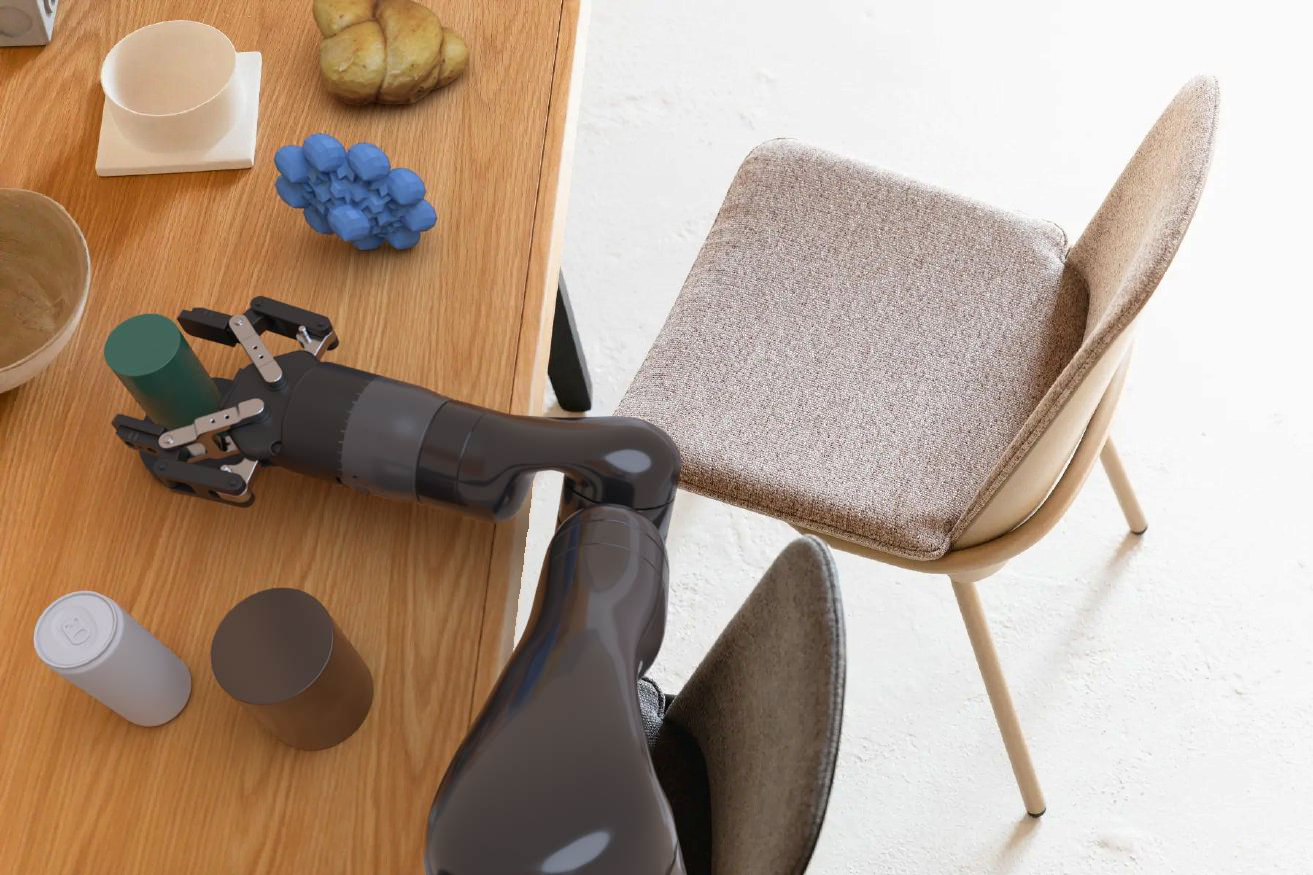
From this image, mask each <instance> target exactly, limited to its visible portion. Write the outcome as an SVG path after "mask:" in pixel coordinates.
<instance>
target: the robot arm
mask: <svg viewBox="0 0 1313 875" xmlns="http://www.w3.org/2000/svg"><path fill="white" fill-rule="evenodd" d="M249 306H250V307H249V308H248V309H247V310H246V311H244V313H241V314H239V313H238V314H235V315H231V314H227V313H224V312H221V311H217V310H213V309H208V308H205V307H192V309H191V310H188V309H181V311H180V312H179V314H178V315H177V317H176V321H177V323H178V324H179V326H180V327H181V328H182V331H183V332H185V333H186V334H187V335H189V336H191V337H194V338H197V339H202V340H205V341H209V342H212V343H215V344H220V345H223V346H226V347H227V346H228V347H231V348H233V349H234V348H236V346H237V345H240V346H241V347H242V349H243V351H244V352H245V354H246V355H247V358H249V360H250V361H251V363H249V364H247V365H246V366H245V367H244V368H242V367H239V368H238V370H237V372H236V373H235V375H234V377H233V379H232V380H233V384H232V387H231V389H230V390H229V391H228V392H227V393H226V394H225V395H224V396H223V398H222V399H221V401H220V403H219V404H218V406H217V407H218V409H219V410H220V411H219V412H216V413H212V414H209V415H206V416H202V417H199V418H197V419H195V420H194V423H193V424H191V425H188V426H185V427H182V428H178V429H175V430H172V431H168V430H167V429H166V427H165V426H161V425H158V424H154V423H151V422H147V421H143V420H144V419H141V418H140V419H139V418H137V417H133V416H129V415H126V414H122V413H116V414H115V415H114V417H113V419H112V421H111V422H110V425H111V426H112V427H113V428H114V429H115V435H117V437H118V438H119V439H120V440H121V442H122V443H123V444H124V445H125V446H126V447H128V448H129V449H131V450H135V451H138V452H139V451H142V452H145V453H148V454H152V455H155V456H159V460H157V461H156V462H155V464H154V466H153V470H154V472H155V473H156V474H157V476H158V477H160V478H161V479H162V480H163V482H164V483H165V485H164V486H166V488H167V489H168V490H169V491H170V492H172V493H177V494H181V495H184V496H190V497H193V498H199V499H201V500H202V499H203V500H206V501H212V502H216V503H219V504H224V505H229V506H234V507H238V508H242V509H247V508H249V507H251V506H253V504H254V503H255V501H256V495H255V493H254V492H253V488H254V486H255V484H256V482H257V480H258V478H259V475H260V473H261V472H262V469H268V468H282V469H285V470H287V471H290V472H293V473H295V474H299V475H302V476H307V477H310V478H313V479H317V480H320V481H323V482H326V483H330V484H334V485H337V486H341V487H344V488H348V489H352V490H354V491H356V492H357V493H360V494H363V495H366V496H376V497H379V498H383V499H387V500H391V501H398V502H406V503H412V504H416V505H417V504H418V505H422V506H425V507H429V508H433V509H436V510H440V511H443V512H446V513H449V514H450V513H451V514H453V515H456V516H460V517H464V518H468V519H470V520H471V519H472V520H474V521H478V522H482V523H487V524H494V525H495V524H504V523H507V522H509V521H510V520H512V519H513V518H514V517H515V516H516V515H517V514H518V512H519V511H520V510H521V509H522V507H523V505H524V503H525V501H526V499H527V497H528V495H529V493H530V491H531V488H532V485H533V483H534V480H535V478H536V476H537V474H538V473H539V472H547V471H553V472H558V473H561V474H563V476H562V485H561V491H560V498H559V504H558V510H557V514H556V522H555V527H554V534H553V535H552V537H551V540H550V542H549V543H548V546H547V548H546V551H545V555H544V558H543V561H542V565H541V569H540V574H539V576H538V577H539V578H538V581H537V585H536V589H535V593H534V597H533V601H532V605H531V609H530V613H529V616H528V620H527V622H526V625H525V627H524V630H523V632H522V635H521V637H520V639H519V641H518V642H517V644H516V646H515V648H514V650H513V651H512V653H511V655H510V657H509V658H508V660H507V662H506V664H505V665H504V666H503V669H502V670H501V673H500V674H499V676H498V678H497V679H496V681H495V683H494V684H493V687H492V688H491V690H490V692H489V694H488V696H487V697H486V699H485V701H484V702H483V705H482V707H481V708H480V710H479V712H478V714H477V715H476V717H475V719H474V720H473V722H472V723H471V725H470V727H469V729H468V730H467V732H466V733H465V735H464V737H463V738H462V740H461V741H460V744H459V745H458V747H457V749H456V750H455V752H454V754H453V756H452V758H451V760H450V762H449V764H448V766H447V768H446V770H445V772H444V774H443V776H442V778H441V779H440V782H439V783H438V784H439V785H438V786H437V789H436V790H435V793H434V796H433V798H432V801H431V804H430V806H429V808H428V812H427V816H426V819H425V823H424V827H423V834H422V854H423V865H424V873H425V875H688V873H687V869H686V865H685V861H684V857H683V852H682V848H681V844H680V839H679V835H678V831H677V825H676V821H675V816H674V812H673V808H672V806H671V803H670V801H669V798H668V797H667V794H666V792H665V790H664V788H663V786H662V784H661V782H660V779H659V778H658V775H657V772H656V769H655V765H654V762H653V759H652V755H651V752H650V747H649V743H648V738H647V737H648V736H647V733H646V729H645V728H646V727H645V723H644V719H643V718H644V717H643V712H642V708H641V701H640V696H639V681H641V679H642V678H644V677H645V676H646V674H648V672H649V671H650V669H651V668H652V666H653V665H654V663H655V662H656V660H657V658H658V656H659V653H660V651H661V649H662V646H663V642H664V639H665V635H666V629H667V620H668V612H669V594H670V560H669V555H668V550H667V546H666V544H667V540H668V535H669V528H670V524H671V521H672V520H671V519H672V515H673V510H674V507H675V506H674V505H675V500H676V497H677V496H676V494H677V491H678V487H679V482H680V477H681V470H682V456H681V451H680V449H679V446H678V445H677V443H676V442H675V441H674V439H672V437H671V436H670V435H669V434H667V433H666V432H665V431H664V430H663V429H662V428H661V427H659V426H657V425H655V424H654V423H652V422H650V421H647V420H645V419H641V418H638V417H634V416H633V417H631V416H619V415H618V416H617V415H608V416H607V415H605V416H603V415H602V416H601V415H600V416H579V417H577V416H576V417H575V416H568V417H565V416H564V417H563V416H561V417H560V416H538V415H522V414H514V413H508V412H503V411H499V410H496V409H493V408H490V407H489V408H488V407H486V406H485V407H484V406H481V405H477V404H474V403H470V402H467V401H462V400H458V399H454V398H451V397H449V396H445V395H443V394H440V393H438V392H437V391H434V390H431V389H429V388H426V387H424V386H421V385H417V384H414V383H410V382H408V381H407V382H406V381H404V380H399V379H395V378H391V377H388V376H385V375H381V374H378V373H373V372H370V371H365V370H362V369H358V368H355V367H351V366H347V365H344V364H340V363H336V362H332V361H322V358H323V357H324V355H325V353H326V352H327V351H328V352H329V351H330V352H331V351H334V350H336V349H337V348H338V347H339V345H340V340H339V338H338V335H337V333H336V331H335V328H334V326H333V325H332V322H331V320H330V318H329V317H328V316H326V315H323V314H320V313H317V312H314V311H310V310H309V309H304V308H301V307H299V306H295V305H292V304H289V303H286V302H282V301H280V300H277V299H273V298H270V297H267V296H264V295H257V296H255V297H253V298H252V299H251V301H250V303H249ZM266 331H267V332H270V333H273V334H276V335H279V336H282V337H285V338H288V339H292V340H294V341H297V342H298V344H299V346H300V347H301V349H298V350H294V351H289V352H285V353H283V354H280V355H279V354H278V355H276V356H273V355H272V354H271V352H270V351H269V349H268V348H267V346H266V344H265V343H264V342H263V340H262V338H261V336H262V335H263V334H264V333H265V332H266ZM223 431H226V432H227V433H228V435H229V436H226V437H220V436H218V435H217V434H216V433H219V432H223ZM237 453H241V455H242V456H243V458H244V460H243V461H242V462H241V463H239V464H237V465H222V466H221V468H220V469H221V470H218V469H214V468H210V467H205V466H201V465H196V464H192V463H193V462H197V461H200V460H203V459H206V458H212V459H221V458H224V457H228V456H231V455H234V454H237Z"/></svg>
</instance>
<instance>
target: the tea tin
mask: <svg viewBox="0 0 1313 875" xmlns="http://www.w3.org/2000/svg"><path fill="white" fill-rule="evenodd" d="M103 357H104V360H105V362H106V365H107V366H108V367H109V369H110V370H111V371H112V373H114V375H115V376H116V377H117V379H118V380H119V381H120V382H121V383H122V385H123V386H124V388H125V389H126V390H127V391H128V393H129V394H130V395H131V396H132V398H133V399H134V401H136V403H137V404H138V406H139V407H140V409H142V410H143V412H144V413H145V414H146V415H148V417H149V418H150V419H151V421H152V422H153V423H154V424H158V425H161V426H165V427H166V429H167V430H168V431H172V430H175V429H178V428H182V427H185V426H188V425H191V424H193V423H194V420H195V419H197V418H199V417H202V416H206V415H209V414H212V413H216V412H219V411H220V410H219V409H218V407H217V406H218V404H219V403H220V401H221V399H222V398H223V395H222V394H221V392H220V391H219V389H218V388H217V386H216V385H215V383H214V382H213V380H212V379H211V378H212V377H211V375H210V374H209V373H208V371H207V370H206V368H205V367H204V364H202V362H201V360H200V359H199V357H198V356H197V354H196V353H195V351H194V350H193V348H192V347H191V345H190V344H189V342H188V341H187V339H186V338H185V336H184V334H183V333H182V331H181V330H180V328H179V327H178V325H177V323H175V321H173V320H172V319H171V318H169V317H167V316H165V315H162V314H158V313H144V314H143V313H142V314H137V315H135V316H132V317H129V318H127V319H125V320H124V321H121V323H120V324H118V325H117V326H116V327H115V328H114V329H113V330H112V331H111V332H110V334H108V337H107V338H106V341H105V343H104V347H103ZM216 434H217V435H218V436H220V437H226V436H229V435H228V433H227V432H226V431H223V432H219V433H216Z"/></svg>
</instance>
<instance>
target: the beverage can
mask: <svg viewBox="0 0 1313 875" xmlns="http://www.w3.org/2000/svg"><path fill="white" fill-rule="evenodd" d="M32 640H33V646H34V650H35V652H36V654H37V656H38V657H39V658H40V660H41V662H42V663H43V664H44V665H45V666H46V667H47V668H48V669H50V670H51V671H52V672H54V673H55V674H57V675H58V676H60V677H61V678H63V679H64V680H66V681H67V682H68V683H70V684H72V685H74V686H75V687H76V688H78V689H80V690H81V691H82V692H84V693H85V694H88V695H89V696H91V697H92V698H94V699H95V700H97V701H98V702H100V703H101V704H103V705H104V706H105V707H107V708H109V709H110V710H111V711H113V712H115V713H116V714H117V715H119V716H120V717H122V718H124V719H125V720H126V721H128V722H130V723H132V724H135V725H136V726H141V727H148V728H149V727H158V726H160V725H163V724H167V723H168V722H170V721H171V720H173V719H174V718H176V717H177V716H178V715H179V713H180V712H182V711H183V709H184V708H185V706H186V704H187V703H188V701H189V698H190V695H191V692H192V677H191V672H190V669H189V668H188V666H187V664H186V663H185V662H184V661H183V660H182V659H181V658H180V657H179V656H178V655H176V653H174V652H173V651H172V650H171V649H170V648H169V647H167V645H165V644H164V643H163V642H162V641H161V640H159V639H158V638H157V637H156V636H155V635H153V634H152V633H151V631H149V630H148V629H147V628H145V626H143V625H142V624H141V623H140V622H139V621H138V620H137V619H135V618H134V617H133V616H132V615H131V614H129V612H127V610H125V609H124V608H123V607H121V606H120V605H119V604H118V603H117V602H116V601H115V600H113V598H111V597H109V596H105V594H101V593H99V592H96V591H93V590H80V591H73V592H70V593H67V594H64V595H62V596H60V597H58V598H57V599H56V600H54V601H52V602H51V604H50V605H48V606H47V607H46V608H45V609H44V611H43V612H42V614H40V616H39V618H38V619H37V622H36V624H35V627H34V631H33V638H32Z"/></svg>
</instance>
